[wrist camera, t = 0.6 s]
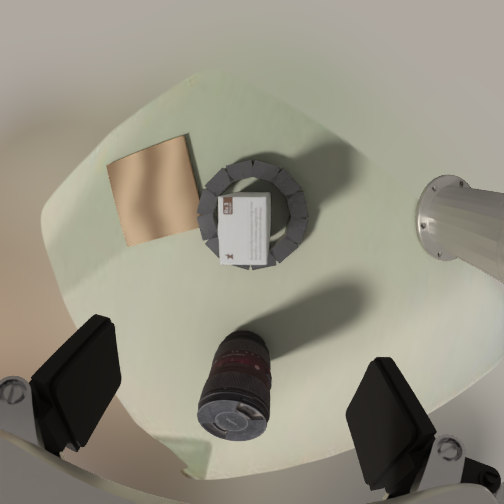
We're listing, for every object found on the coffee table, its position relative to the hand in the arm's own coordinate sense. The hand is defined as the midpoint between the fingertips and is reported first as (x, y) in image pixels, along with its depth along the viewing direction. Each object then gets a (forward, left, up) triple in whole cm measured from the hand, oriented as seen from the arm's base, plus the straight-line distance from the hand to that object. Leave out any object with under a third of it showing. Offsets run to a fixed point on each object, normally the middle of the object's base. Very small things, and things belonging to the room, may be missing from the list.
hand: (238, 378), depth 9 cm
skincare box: (+1, -2, -27) cm, 27 cm away
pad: (+13, -8, -27) cm, 31 cm away
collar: (+1, -2, -27) cm, 27 cm away
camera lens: (+7, +17, -27) cm, 33 cm away
